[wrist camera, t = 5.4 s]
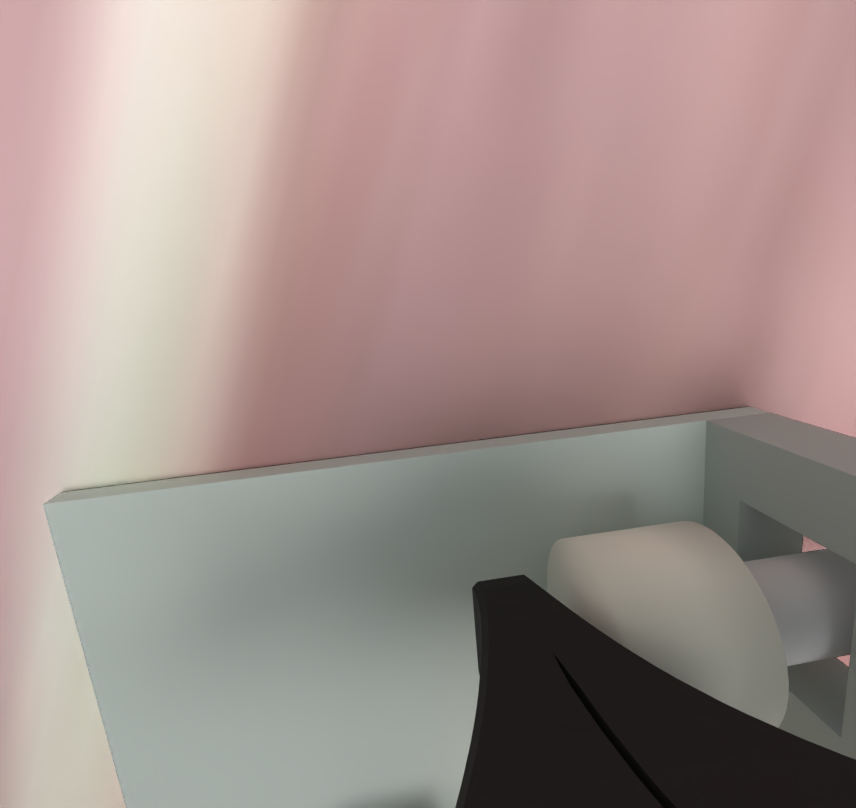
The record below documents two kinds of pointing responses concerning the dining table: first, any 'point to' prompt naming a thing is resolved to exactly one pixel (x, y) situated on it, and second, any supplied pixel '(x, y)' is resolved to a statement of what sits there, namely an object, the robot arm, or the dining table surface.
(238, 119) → the dining table surface
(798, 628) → the ivory knob
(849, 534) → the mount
